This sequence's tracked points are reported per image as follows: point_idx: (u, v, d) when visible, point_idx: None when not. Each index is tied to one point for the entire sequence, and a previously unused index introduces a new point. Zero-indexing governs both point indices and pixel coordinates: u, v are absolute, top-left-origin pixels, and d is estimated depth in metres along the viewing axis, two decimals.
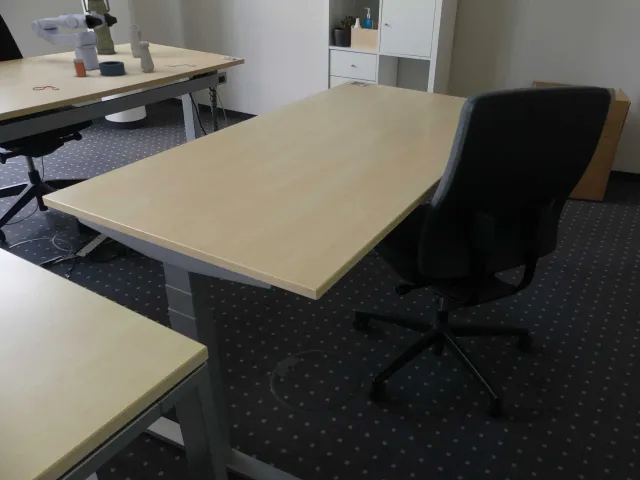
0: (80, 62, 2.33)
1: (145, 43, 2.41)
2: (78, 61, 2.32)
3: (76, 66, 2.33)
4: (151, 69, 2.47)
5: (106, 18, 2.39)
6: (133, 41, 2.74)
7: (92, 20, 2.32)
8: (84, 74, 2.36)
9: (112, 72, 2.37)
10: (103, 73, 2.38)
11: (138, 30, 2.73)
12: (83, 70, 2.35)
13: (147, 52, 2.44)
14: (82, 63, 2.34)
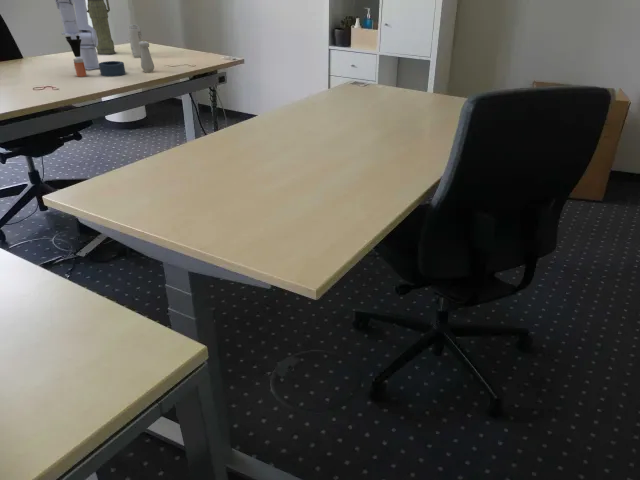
0: (80, 62, 2.33)
1: (145, 43, 2.41)
2: (78, 61, 2.32)
3: (76, 66, 2.33)
4: (151, 69, 2.47)
5: None
6: (133, 41, 2.74)
7: None
8: (84, 74, 2.36)
9: (112, 72, 2.37)
10: (103, 73, 2.38)
11: (138, 30, 2.73)
12: (83, 70, 2.35)
13: (147, 52, 2.44)
14: (82, 63, 2.34)
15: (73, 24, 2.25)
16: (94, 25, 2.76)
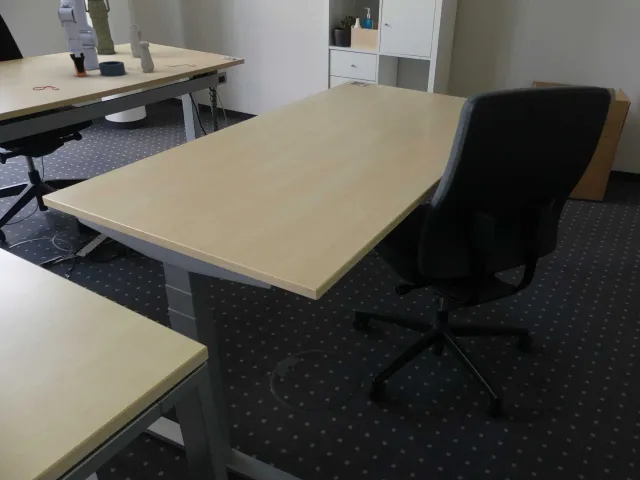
0: None
1: (145, 43, 2.41)
2: None
3: None
4: (151, 69, 2.47)
5: None
6: (133, 41, 2.74)
7: None
8: (84, 74, 2.36)
9: (112, 72, 2.37)
10: (103, 73, 2.38)
11: (138, 30, 2.73)
12: None
13: (147, 52, 2.44)
14: None
15: (77, 41, 2.28)
16: (94, 25, 2.76)
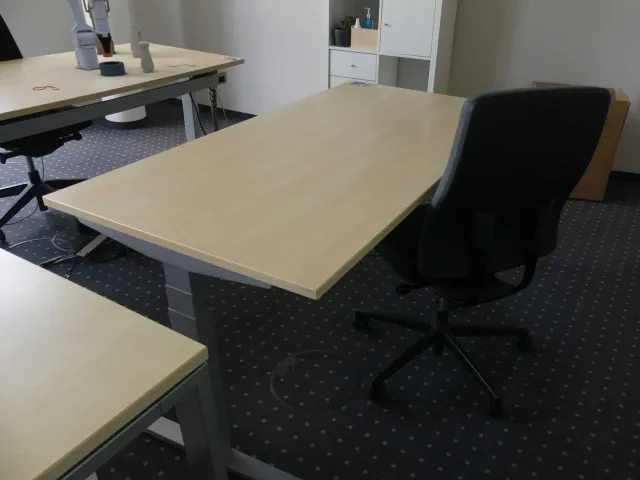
0: None
1: (145, 43, 2.41)
2: None
3: None
4: (151, 69, 2.47)
5: None
6: (133, 41, 2.74)
7: None
8: (110, 55, 2.37)
9: (112, 72, 2.37)
10: (103, 73, 2.38)
11: (138, 30, 2.73)
12: None
13: (147, 52, 2.44)
14: None
15: (105, 22, 2.30)
16: (94, 25, 2.76)
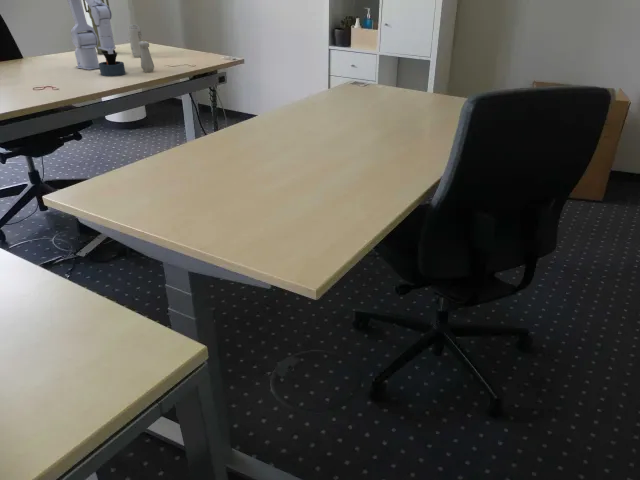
0: None
1: (145, 43, 2.41)
2: None
3: None
4: (151, 69, 2.47)
5: None
6: (133, 41, 2.74)
7: None
8: None
9: (112, 72, 2.37)
10: (103, 73, 2.38)
11: (138, 30, 2.73)
12: None
13: (147, 52, 2.44)
14: None
15: (110, 39, 2.33)
16: (94, 25, 2.76)
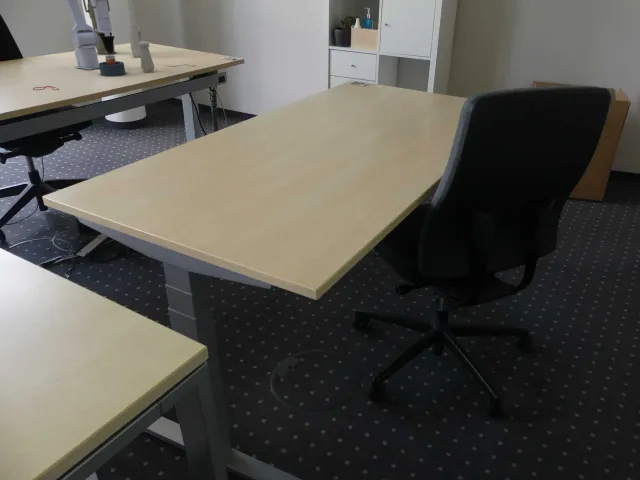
0: (112, 59, 2.38)
1: (145, 43, 2.41)
2: (110, 58, 2.37)
3: (108, 63, 2.38)
4: (151, 69, 2.47)
5: None
6: (133, 41, 2.74)
7: None
8: None
9: (112, 72, 2.37)
10: (103, 73, 2.38)
11: (138, 30, 2.73)
12: None
13: (147, 52, 2.44)
14: (114, 60, 2.39)
15: (107, 21, 2.30)
16: (94, 25, 2.76)
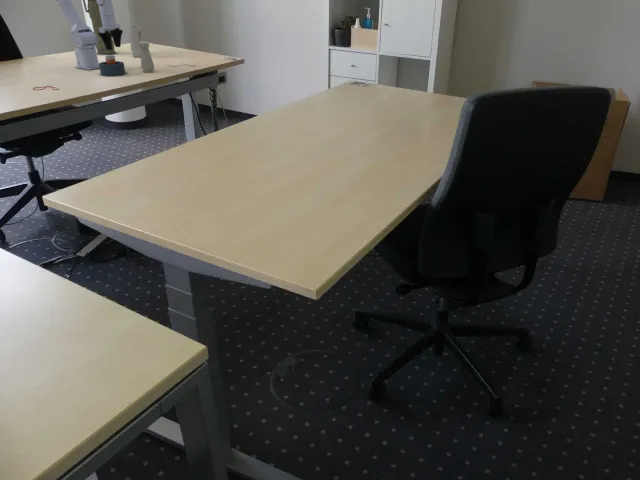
0: (112, 59, 2.38)
1: (145, 43, 2.41)
2: (110, 58, 2.37)
3: (108, 63, 2.38)
4: (151, 69, 2.47)
5: (116, 32, 2.43)
6: (133, 41, 2.74)
7: (107, 37, 2.36)
8: None
9: (112, 72, 2.37)
10: (103, 73, 2.38)
11: (138, 30, 2.73)
12: None
13: (147, 52, 2.44)
14: (114, 60, 2.39)
15: None
16: (94, 25, 2.76)
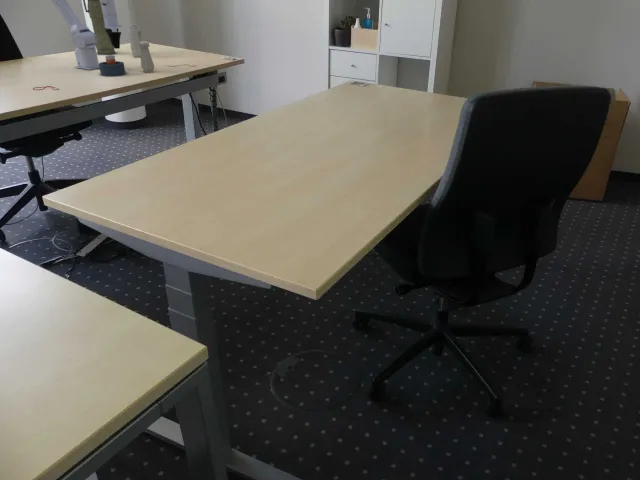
0: (112, 59, 2.38)
1: (145, 43, 2.41)
2: (110, 58, 2.37)
3: (108, 63, 2.38)
4: (151, 69, 2.47)
5: None
6: (133, 41, 2.74)
7: (116, 36, 2.40)
8: None
9: (112, 72, 2.37)
10: (103, 73, 2.38)
11: (138, 30, 2.73)
12: None
13: (147, 52, 2.44)
14: (114, 60, 2.39)
15: None
16: (94, 25, 2.76)
